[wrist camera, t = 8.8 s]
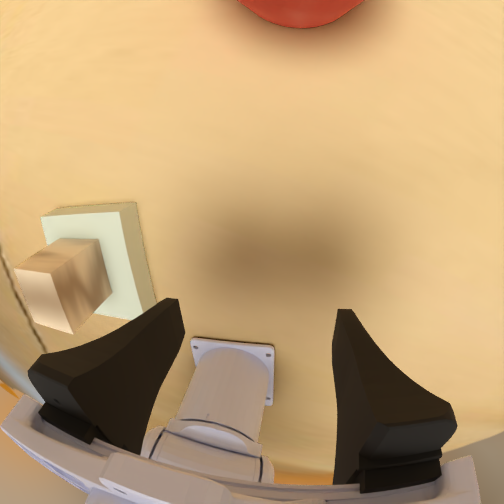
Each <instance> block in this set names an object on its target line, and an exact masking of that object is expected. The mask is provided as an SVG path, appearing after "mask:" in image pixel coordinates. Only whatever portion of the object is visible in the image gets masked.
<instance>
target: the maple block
mask: <svg viewBox="0 0 504 504" xmlns="http://www.w3.org/2000/svg"><path fill="white" fill-rule="evenodd" d="M14 271H15V274H16V277H17V279H18V282H19V285H20V288H21V290H22V293H23V295H24V298H25V300H26V303H27V305H28V308H29V310H30V312H31V315H32V317H33V319H34V321H35V323H38V324H41V325H44V326H47V327H50V328H54V329H57V330H60V331H64V332H67V333H70V334H74V333H75V332H76V331H77V330H78V329H79V328H80V327H81V326H82V324H83V323H84V322H85V321H86V320H87V319H88V318H89V317H90V316H91V315H92V314H93V313H94V312H95V310H96V309H97V308H98V307H99V306H100V305H101V304H102V303H103V302H104V301H105V300H106V299H107V298H108V297H109V296H110V295H111V294H112V290H111V286H110V283H109V279H108V275H107V271H106V268H105V264H104V260H103V255H102V251H101V247H100V242H99V239H65V238H59V239H58V240H56V241H54V242H53V243H51V244H50V245H48V246H46V247H45V248H43V249H42V250H40V251H39V252H37V253H36V254H34V255H33V256H31V257H30V258H28V259H27V260H25V261H24V262H22V263H21V264H19V265H18V266H16V267H15V268H14Z"/></svg>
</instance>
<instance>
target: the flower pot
mask: <svg viewBox="0 0 504 504" xmlns="http://www.w3.org/2000/svg"><path fill="white" fill-rule="evenodd" d="M237 1H239V2H240V3H242V4H243V5H244V6H246V7H247V8H249V9H250V10H251V11H253V12H254V13H255V14H257V15H258V16H260V17H261V18H263V19H265V20H267V21H269V22H272V23H275V24H278V25H281V26H286V27H293V28H310V27H318V26H322V25H325V24H328V23H331V22H333V21H335V20H337V19H338V18H340V17H341V16H343V15H344V14H345V13H347V12H348V11H350V10H351V9H352V8H354V7H355V6H357V5H358V4H360V3H361V2H363V1H364V0H237Z"/></svg>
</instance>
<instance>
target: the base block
mask: <svg viewBox="0 0 504 504" xmlns="http://www.w3.org/2000/svg"><path fill="white" fill-rule="evenodd" d="M40 218H41V222H42V227H43V230H44V234H45V238H46V242H47V245H50V244H51V243H53V242H54V241H56V240H58V239H59V238H65V239H99V242H100V247H101V251H102V255H103V260H104V264H105V268H106V271H107V275H108V279H109V283H110V286H111V290H112V294H111V295H110V296H109V297H108V298H107V299H106V300H105V301H104V302H103V303H102V304H101V305H100V306H99V307H98V308H97V309H96V310H95V312H94V313H95V314H101V315H106V316H111V317H117V318H122V319H128V320H133V319H135V318H136V317H138V316H139V315H141V314H142V313H144V312H145V311H147V310H148V309H150V308H151V307H153V306H154V305H156V304H157V302H156V299H155V294H154V290H153V286H152V282H151V278H150V273H149V269H148V264H147V259H146V255H145V250H144V245H143V240H142V234H141V229H140V223H139V217H138V211H137V205H136V202H130V203H114V204H100V205H88V206H76V207H66V208H57V209H55V210H53V211H51V212H49V213H47V214H45V215H43V216H41V217H40Z"/></svg>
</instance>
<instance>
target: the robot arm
mask: <svg viewBox="0 0 504 504" xmlns="http://www.w3.org/2000/svg"><path fill="white" fill-rule="evenodd" d="M184 335H185V329H184V324H183V320H182V315H181V311H180V306H179V301H178V299H172V298H166V299H164V300H162V301H160V302H159V303H157V304H156V305H154V306H153V307H151V308H150V309H148V310H147V311H145V312H144V313H142V314H141V315H139V316H138V317H136V318H135V319H133V320H132V321H130V322H128V323H127V324H125V325H123V326H122V327H120V328H119V329H117V330H115V331H113V332H111V333H109V334H107V335H105V336H103V337H101V338H99V339H96V340H94V341H91V342H89V343H86V344H84V345H81V346H78V347H75V348H71V349H67V350H64V351H59V352H54V353H49V354H42V355H41V356H40V357H39V358H38V359H37V361H36V362H35V363H34V364H33V365H32V366H31V368H30V369H29V370H28V377H29V379H30V381H31V382H32V384H33V386H34V387H35V388H36V390H37V391H38V393H39V394H40V395H41V397H42V398H43V399H44V401H45V403H44V405H43V406H42V405H41V404H40V403H39V402H37V401H36V400H34V399H32V398H31V397H29V396H28V395H26V394H24V395H23V396H22V397H21V399H20V400H19V401H18V403H17V404H16V405H15V406H14V408H13V409H12V411H11V412H10V413H9V415H8V416H7V417H6V419H5V420H4V421H3V423H2V424H1V426H0V427H1V429H2V430H3V431H4V432H5V433H6V434H7V435H8V436H9V437H10V438H11V439H12V440H13V441H14V442H15V443H16V444H17V445H18V446H20V447H21V448H22V449H23V450H24V451H25V452H26V453H27V454H28V455H30V456H31V457H32V458H34V459H35V460H36V461H38V462H39V463H41V464H42V465H43V466H45V467H46V468H48V469H49V470H50V471H52V472H53V473H55V474H56V475H58V476H59V477H61V478H62V479H64V480H66V481H67V482H69V483H70V484H72V485H74V486H75V487H77V488H79V489H80V490H82V491H84V492H86V493H87V494H89V495H88V497H87V499H86V501H85V504H481V499H480V493H479V487H478V482H477V477H476V472H475V468H474V463H473V459H472V456H471V455H469V456H465V457H462V458H458V459H455V460H451V461H448V462H446V463H444V464H442V465H440V461H439V458H441V457H442V451H441V447H442V446H443V445H444V444H445V443H446V442H447V441H448V440H449V439H450V438H451V437H452V435H453V434H454V433H455V431H456V429H457V422H456V419H455V415H454V412H453V409H452V407H451V405H450V403H448V402H447V401H445V400H443V399H441V398H439V397H437V396H435V395H434V394H432V393H430V392H429V391H427V390H426V389H424V388H423V387H421V386H420V385H418V384H417V383H416V382H414V381H413V380H412V379H410V378H409V377H408V376H407V375H405V374H404V373H403V372H402V371H401V370H400V369H399V368H397V367H396V366H395V365H394V364H393V363H392V362H391V361H390V360H389V359H388V358H387V356H386V355H385V354H384V353H383V352H382V351H381V349H380V348H379V347H378V346H377V345H376V343H375V342H374V341H373V339H372V338H371V337H370V335H369V334H368V333H367V331H366V330H365V328H364V327H363V325H362V324H361V322H360V321H359V319H358V318H357V316H356V315H355V313H354V312H353V310H352V309H338V311H337V318H336V324H335V330H334V335H333V341H332V366H333V374H334V382H335V391H336V399H337V443H336V457H335V468H334V477H333V485H288V484H273V482H274V467H273V465H272V463H271V462H270V459H269V458H268V457H267V456H262V455H261V451H262V444H259V443H258V439H259V433H260V428H261V422H262V417H263V411H264V406H270V405H272V404H273V388H274V350H275V349H274V347H273V346H271V345H261V344H249V343H238V342H228V341H219V340H210V339H202V338H192V339H191V341H190V344H191V349H192V353H193V357H194V361H195V366H196V369H195V372H194V374H193V377H192V379H191V381H190V384H189V386H188V388H187V391H186V393H185V396H184V398H183V400H182V403H181V405H180V407H179V410H178V412H177V415H176V417H175V419H173V418H170V420H169V423H168V425H167V427H166V428H165V427H163V426H157V427H155V428H153V429H150V430H149V431H148V432H147V433H146V435H145V432H146V428H147V424H148V421H149V418H150V415H151V411H152V408H153V405H154V403H155V400H156V397H157V394H158V392H159V389H160V387H161V385H162V383H163V381H164V379H165V377H166V375H167V373H168V371H169V369H170V368H171V366H172V364H173V362H174V360H175V358H176V356H177V354H178V352H179V350H180V347H181V344H182V341H183V338H184ZM196 346H197V347H196ZM267 353H269V354H267Z"/></svg>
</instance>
